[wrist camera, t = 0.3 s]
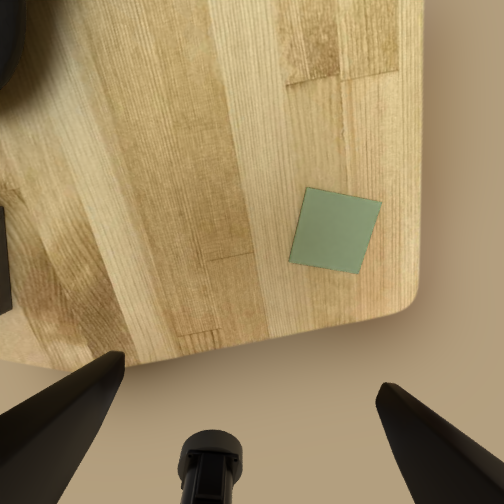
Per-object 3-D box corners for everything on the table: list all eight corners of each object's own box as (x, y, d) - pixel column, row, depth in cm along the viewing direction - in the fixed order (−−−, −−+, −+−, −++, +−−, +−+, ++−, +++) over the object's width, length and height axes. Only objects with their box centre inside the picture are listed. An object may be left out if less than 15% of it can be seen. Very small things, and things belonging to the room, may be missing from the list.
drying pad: (357, 273, 23) (358, 274, 23) (288, 261, 22) (289, 262, 22) (380, 202, 21) (382, 202, 21) (306, 187, 21) (307, 187, 20)
